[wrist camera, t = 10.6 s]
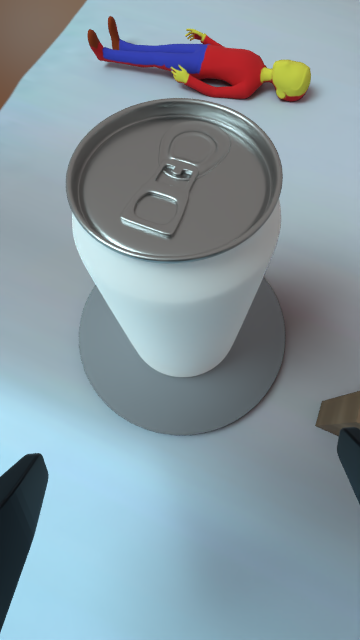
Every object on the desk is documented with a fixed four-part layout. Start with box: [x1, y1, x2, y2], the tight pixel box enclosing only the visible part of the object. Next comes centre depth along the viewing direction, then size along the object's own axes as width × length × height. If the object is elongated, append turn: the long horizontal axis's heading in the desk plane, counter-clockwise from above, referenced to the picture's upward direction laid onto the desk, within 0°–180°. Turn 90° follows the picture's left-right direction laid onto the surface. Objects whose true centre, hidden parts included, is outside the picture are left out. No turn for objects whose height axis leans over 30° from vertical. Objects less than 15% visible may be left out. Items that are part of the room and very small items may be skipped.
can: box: [66, 98, 283, 377], centre depth 13 cm, size 6×6×12 cm
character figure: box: [88, 16, 311, 102], centre depth 27 cm, size 6×4×20 cm
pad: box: [79, 277, 285, 435], centre depth 19 cm, size 13×13×1 cm
